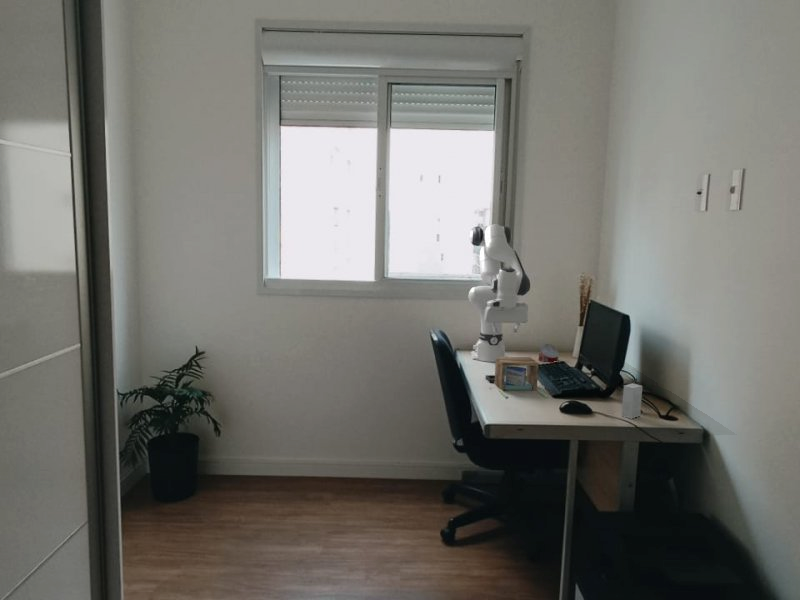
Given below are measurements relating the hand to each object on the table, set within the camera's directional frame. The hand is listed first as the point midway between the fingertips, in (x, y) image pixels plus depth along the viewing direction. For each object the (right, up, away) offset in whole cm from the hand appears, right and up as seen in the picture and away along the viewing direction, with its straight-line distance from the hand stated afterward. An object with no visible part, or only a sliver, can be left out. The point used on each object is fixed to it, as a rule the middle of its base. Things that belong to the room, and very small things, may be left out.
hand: (505, 332), depth 253 cm
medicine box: (+1, -23, -16) cm, 28 cm away
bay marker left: (-6, -24, -27) cm, 37 cm away
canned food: (+30, -18, +35) cm, 49 cm away
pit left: (-7, -22, -6) cm, 24 cm away
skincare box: (+37, -29, -50) cm, 68 cm away
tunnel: (+1, -23, -16) cm, 28 cm away
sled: (0, -22, -9) cm, 24 cm away
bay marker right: (+11, -25, -25) cm, 37 cm away
